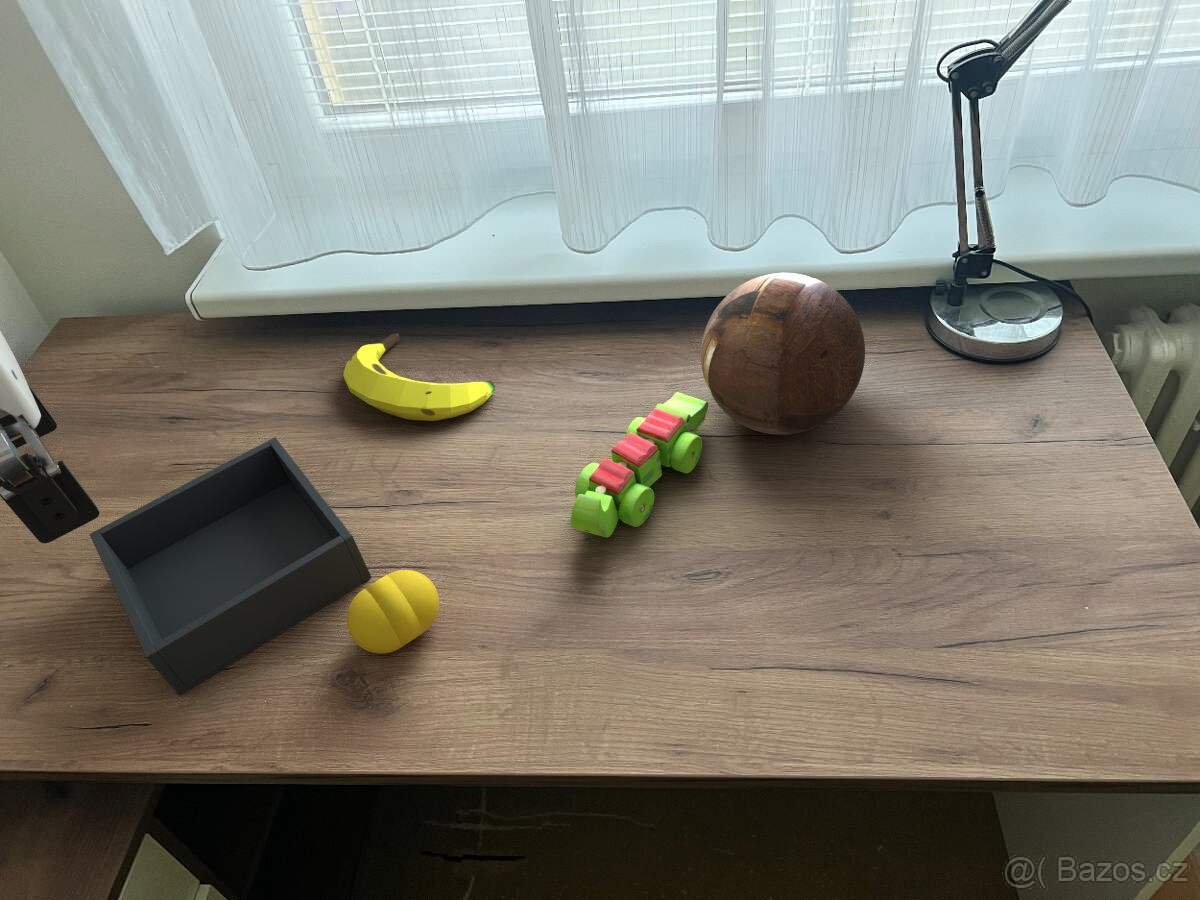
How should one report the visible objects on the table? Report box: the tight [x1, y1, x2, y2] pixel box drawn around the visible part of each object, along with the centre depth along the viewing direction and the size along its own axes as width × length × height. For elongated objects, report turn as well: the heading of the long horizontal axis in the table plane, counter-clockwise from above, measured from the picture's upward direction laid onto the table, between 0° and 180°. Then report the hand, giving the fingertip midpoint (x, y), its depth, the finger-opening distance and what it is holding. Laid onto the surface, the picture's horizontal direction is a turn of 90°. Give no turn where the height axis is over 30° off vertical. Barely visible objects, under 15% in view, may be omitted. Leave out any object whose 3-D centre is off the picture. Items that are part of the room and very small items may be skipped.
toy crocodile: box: [570, 391, 709, 538], centre depth 80 cm, size 20×7×6 cm, turn 142°
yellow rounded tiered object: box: [346, 569, 440, 655], centre depth 71 cm, size 8×6×6 cm
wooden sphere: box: [700, 272, 866, 436], centre depth 82 cm, size 15×15×15 cm
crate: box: [89, 436, 372, 697], centre depth 77 cm, size 18×17×6 cm
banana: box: [343, 332, 496, 422], centre depth 95 cm, size 5×17×15 cm
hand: (50, 480), depth 51 cm, fingers open, 9 cm apart
